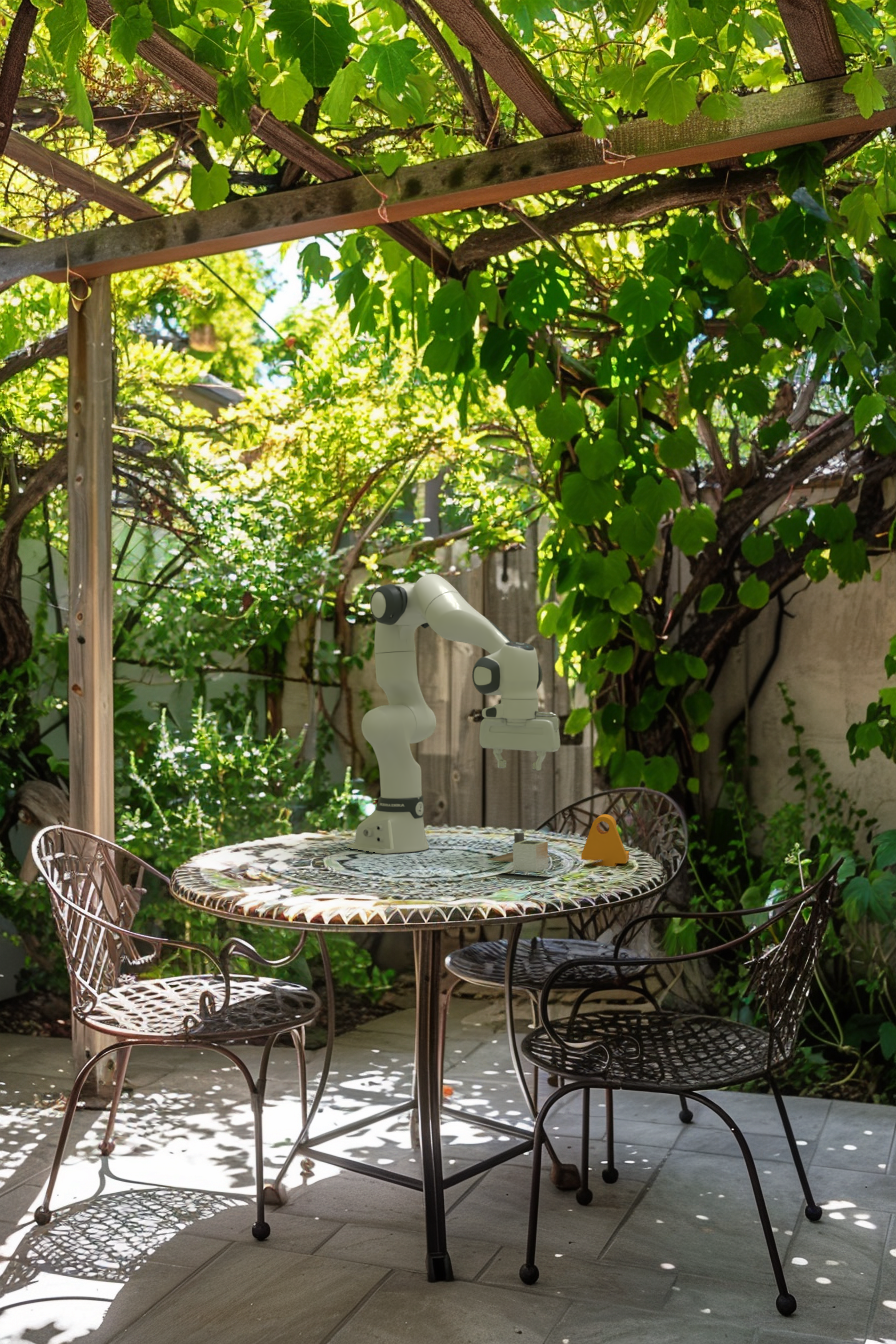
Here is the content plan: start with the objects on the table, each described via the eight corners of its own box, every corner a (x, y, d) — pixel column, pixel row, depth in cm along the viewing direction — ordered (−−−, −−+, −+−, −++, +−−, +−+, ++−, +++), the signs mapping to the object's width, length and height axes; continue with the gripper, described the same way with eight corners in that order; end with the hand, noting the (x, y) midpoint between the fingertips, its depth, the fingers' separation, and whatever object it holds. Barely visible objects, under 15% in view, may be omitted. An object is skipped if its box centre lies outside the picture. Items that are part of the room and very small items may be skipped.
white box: (513, 873, 288) (512, 843, 288) (525, 869, 294) (524, 840, 293) (536, 875, 285) (535, 845, 285) (548, 871, 290) (547, 841, 290)
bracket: (629, 861, 305) (628, 813, 305) (625, 866, 298) (624, 817, 298) (586, 860, 308) (585, 812, 308) (581, 865, 301) (580, 816, 301)
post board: (486, 865, 304) (485, 835, 304) (510, 858, 314) (509, 828, 314) (530, 869, 297) (529, 838, 297) (552, 861, 308) (551, 831, 308)
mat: (496, 877, 287) (496, 875, 287) (520, 869, 298) (520, 866, 298) (542, 881, 281) (542, 878, 281) (565, 872, 291) (565, 870, 291)
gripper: (565, 711, 290) (564, 770, 291) (489, 708, 301) (489, 765, 302) (552, 713, 285) (552, 773, 285) (476, 709, 296) (475, 767, 296)
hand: (519, 769), depth 294 cm, fingers open, 8 cm apart
